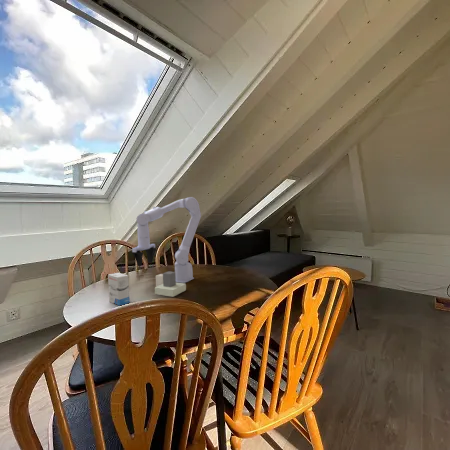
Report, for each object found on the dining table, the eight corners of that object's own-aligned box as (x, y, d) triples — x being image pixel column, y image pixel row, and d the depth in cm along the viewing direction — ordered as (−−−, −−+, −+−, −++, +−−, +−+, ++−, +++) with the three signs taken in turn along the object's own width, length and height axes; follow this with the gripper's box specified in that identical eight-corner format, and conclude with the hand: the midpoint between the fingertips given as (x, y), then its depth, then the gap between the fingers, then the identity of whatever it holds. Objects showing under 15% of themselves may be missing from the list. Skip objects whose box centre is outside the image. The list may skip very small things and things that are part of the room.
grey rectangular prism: (168, 283, 133) (168, 271, 132) (175, 284, 131) (175, 272, 130) (163, 286, 129) (162, 273, 129) (170, 287, 127) (169, 274, 127)
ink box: (130, 302, 117) (128, 275, 116) (119, 306, 114) (117, 277, 113) (120, 298, 123) (118, 272, 122) (109, 301, 119) (107, 274, 118)
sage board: (168, 287, 137) (168, 281, 136) (185, 290, 132) (185, 283, 132) (154, 294, 128) (154, 287, 127) (173, 296, 123) (172, 290, 123)
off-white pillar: (161, 285, 141) (160, 273, 141) (167, 286, 139) (167, 274, 139) (156, 287, 138) (155, 275, 137) (162, 288, 136) (162, 276, 135)
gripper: (147, 235, 151) (148, 260, 152) (126, 238, 138) (128, 266, 139) (157, 235, 147) (159, 261, 149) (137, 239, 134) (139, 267, 136)
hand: (145, 264), depth 143 cm, fingers open, 7 cm apart
